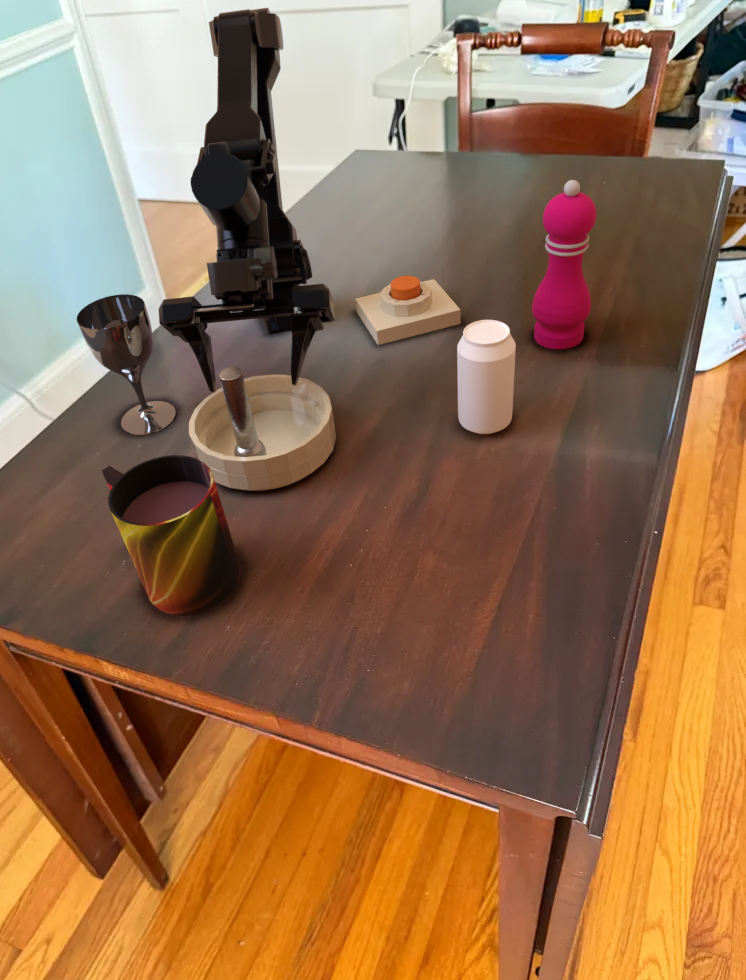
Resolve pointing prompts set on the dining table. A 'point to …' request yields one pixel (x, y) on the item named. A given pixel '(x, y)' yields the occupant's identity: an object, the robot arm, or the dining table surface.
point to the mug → (175, 532)
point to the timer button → (405, 288)
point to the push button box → (407, 313)
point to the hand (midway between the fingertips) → (253, 388)
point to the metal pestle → (240, 414)
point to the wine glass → (125, 353)
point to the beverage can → (485, 376)
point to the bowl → (266, 433)
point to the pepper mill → (564, 270)
